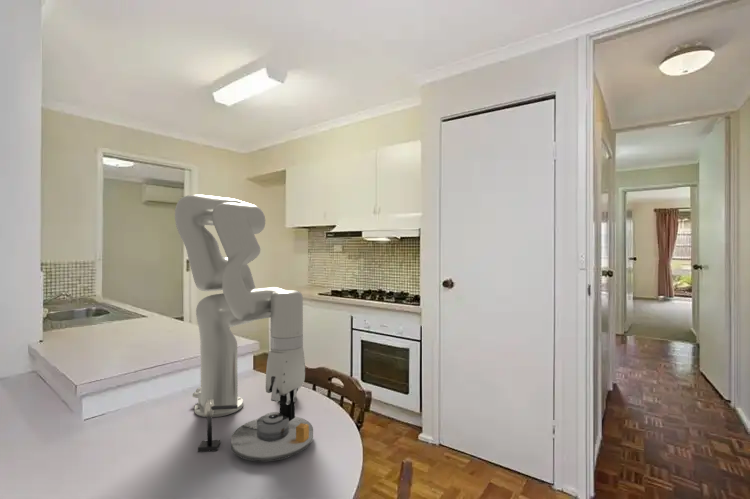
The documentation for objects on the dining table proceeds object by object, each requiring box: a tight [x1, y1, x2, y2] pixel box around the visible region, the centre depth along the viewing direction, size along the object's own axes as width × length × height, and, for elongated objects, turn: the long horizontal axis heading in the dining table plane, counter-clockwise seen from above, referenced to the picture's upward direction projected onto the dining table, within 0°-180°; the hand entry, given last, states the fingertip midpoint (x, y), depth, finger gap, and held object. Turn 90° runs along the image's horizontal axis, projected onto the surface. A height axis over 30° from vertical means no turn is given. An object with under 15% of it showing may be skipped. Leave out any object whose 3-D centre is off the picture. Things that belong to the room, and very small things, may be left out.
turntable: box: [230, 416, 314, 462], centre depth 89 cm, size 18×18×4 cm
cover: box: [257, 411, 289, 441], centre depth 88 cm, size 7×7×4 cm
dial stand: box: [197, 399, 238, 453], centre depth 87 cm, size 8×4×11 cm, turn 97°
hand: (287, 418), depth 93 cm, fingers closed
